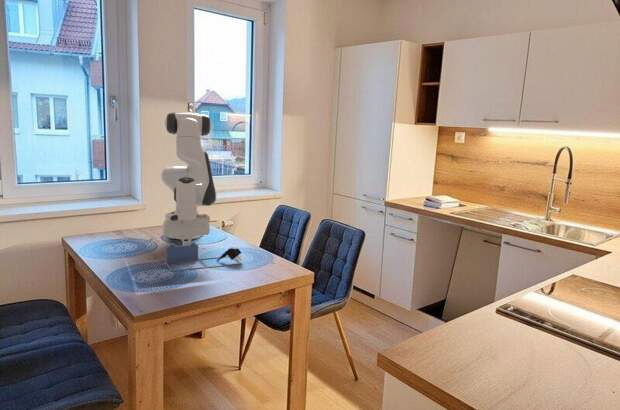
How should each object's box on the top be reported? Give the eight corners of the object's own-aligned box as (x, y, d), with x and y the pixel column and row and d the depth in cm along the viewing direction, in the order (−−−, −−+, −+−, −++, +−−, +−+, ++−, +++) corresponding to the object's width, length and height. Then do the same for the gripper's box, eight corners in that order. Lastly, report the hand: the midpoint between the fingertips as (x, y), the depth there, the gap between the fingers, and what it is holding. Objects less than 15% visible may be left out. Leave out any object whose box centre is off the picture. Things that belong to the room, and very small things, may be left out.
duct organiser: (163, 261, 201) (163, 244, 200) (231, 255, 217) (231, 239, 215) (170, 271, 188) (170, 252, 187) (242, 264, 203) (242, 246, 202)
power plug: (218, 258, 208) (236, 243, 206) (228, 270, 208) (246, 256, 205) (213, 261, 203) (232, 246, 200) (223, 274, 203) (242, 259, 200)
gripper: (207, 212, 202) (207, 242, 204) (161, 214, 193) (161, 245, 195) (211, 215, 197) (211, 245, 199) (164, 217, 187) (164, 249, 189)
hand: (186, 245), depth 197 cm, fingers closed
